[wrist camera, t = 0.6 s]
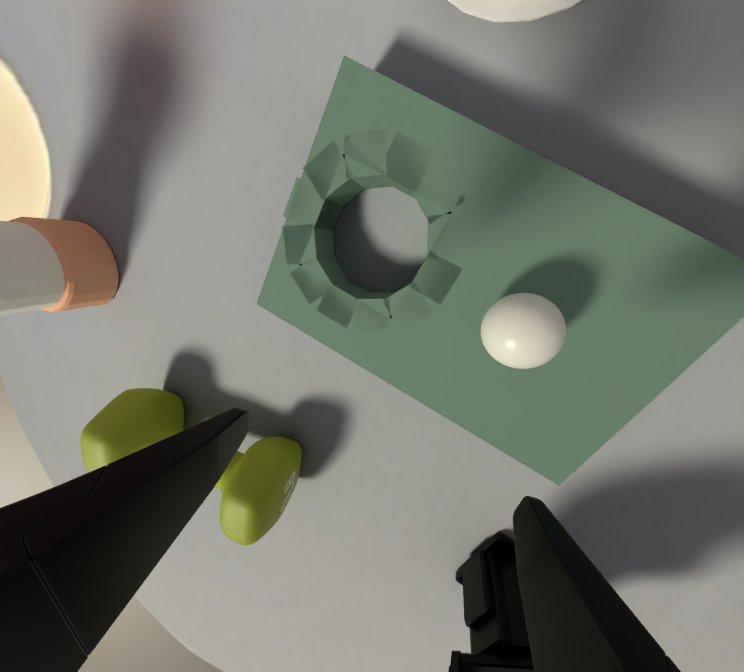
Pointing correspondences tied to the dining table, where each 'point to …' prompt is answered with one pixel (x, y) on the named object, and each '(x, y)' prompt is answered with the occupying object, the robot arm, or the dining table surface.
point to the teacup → (512, 9)
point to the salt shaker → (54, 266)
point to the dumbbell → (239, 481)
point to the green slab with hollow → (497, 276)
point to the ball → (523, 330)
